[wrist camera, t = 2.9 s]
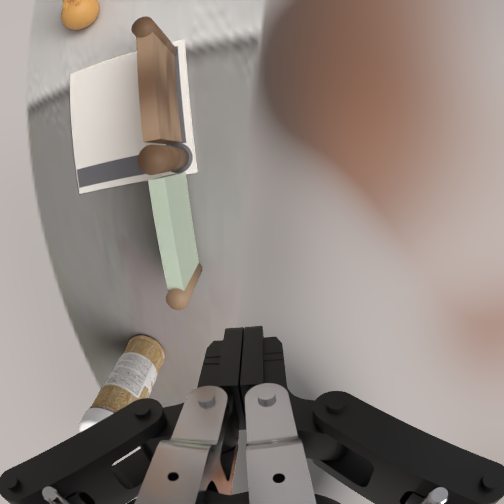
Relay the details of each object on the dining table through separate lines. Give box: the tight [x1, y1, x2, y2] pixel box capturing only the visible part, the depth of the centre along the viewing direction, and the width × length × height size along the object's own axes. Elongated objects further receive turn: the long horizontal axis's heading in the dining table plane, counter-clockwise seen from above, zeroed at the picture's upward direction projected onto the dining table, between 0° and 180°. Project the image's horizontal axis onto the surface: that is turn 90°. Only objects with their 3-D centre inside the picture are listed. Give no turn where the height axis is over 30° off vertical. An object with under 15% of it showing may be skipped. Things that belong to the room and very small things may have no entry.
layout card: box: [70, 39, 198, 194], centre depth 23 cm, size 12×12×1 cm
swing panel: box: [148, 172, 202, 310], centre depth 23 cm, size 9×2×6 cm, turn 6°
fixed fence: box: [132, 17, 189, 175], centre depth 20 cm, size 12×2×7 cm, turn 6°
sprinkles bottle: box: [79, 335, 165, 432], centre depth 25 cm, size 5×5×14 cm
